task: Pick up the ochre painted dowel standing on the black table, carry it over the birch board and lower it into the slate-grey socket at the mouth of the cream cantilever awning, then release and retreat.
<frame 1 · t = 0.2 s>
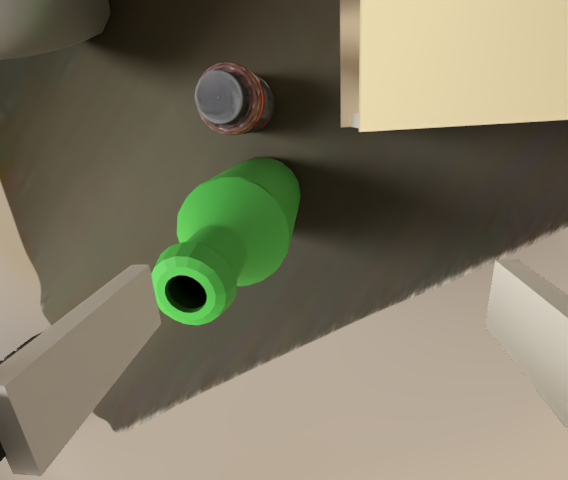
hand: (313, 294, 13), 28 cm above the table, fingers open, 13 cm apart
bottle: (264, 193, 40), on the table
board: (424, 1, 32), on the table
vase: (81, 4, 36), on the table
awning: (422, 69, 33), resting on board
supplement bottle: (248, 104, 37), on the table
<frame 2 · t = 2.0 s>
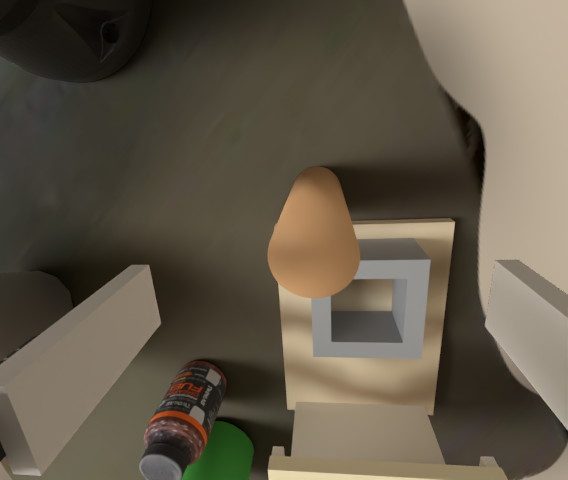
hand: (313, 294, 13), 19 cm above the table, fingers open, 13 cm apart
bottle: (222, 440, 43), on the table
socket: (360, 284, 32), resting on board
board: (358, 321, 35), on the table
vase: (46, 296, 38), on the table
awning: (359, 376, 36), resting on board
peg: (316, 190, 31), on the table
supplement bottle: (203, 377, 40), on the table
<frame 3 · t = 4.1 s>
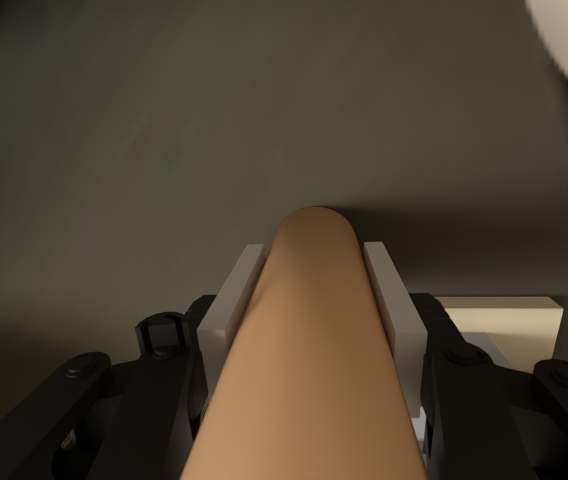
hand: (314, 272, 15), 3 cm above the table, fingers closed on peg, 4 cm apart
socket: (389, 399, 19), resting on board
board: (382, 445, 22), on the table
peg: (315, 246, 18), on the table, touching gripper
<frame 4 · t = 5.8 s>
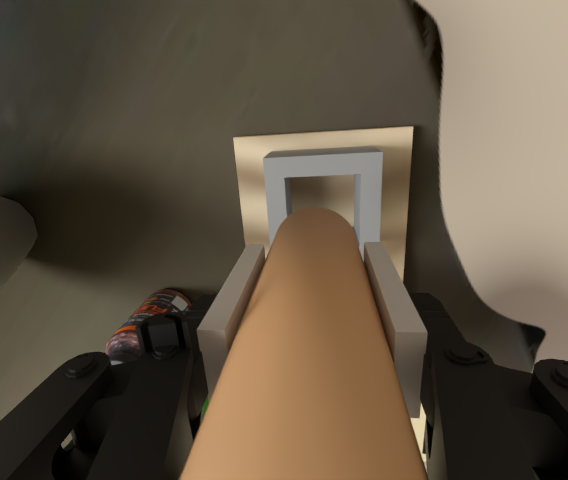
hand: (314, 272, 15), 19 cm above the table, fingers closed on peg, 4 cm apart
socket: (322, 198, 32), resting on board
board: (323, 242, 35), on the table
vase: (11, 224, 38), on the table
awning: (324, 298, 36), resting on board
peg: (315, 247, 18), point 16 cm above the table, touching gripper
supplement bottle: (172, 308, 40), on the table
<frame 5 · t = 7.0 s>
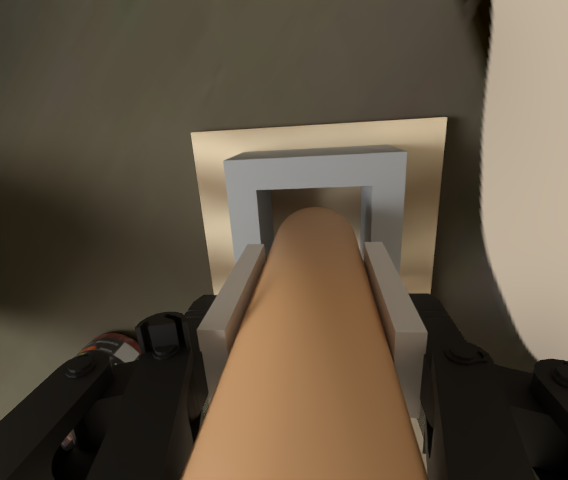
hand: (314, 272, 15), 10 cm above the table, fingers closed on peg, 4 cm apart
socket: (316, 217, 23), resting on board
board: (317, 275, 26), on the table
peg: (315, 246, 18), point 7 cm above the table, touching gripper
supplement bottle: (122, 355, 31), on the table
when the fingers open (8 cm above the table, at t = 7.7 s): peg drops 3 cm, resting on board.
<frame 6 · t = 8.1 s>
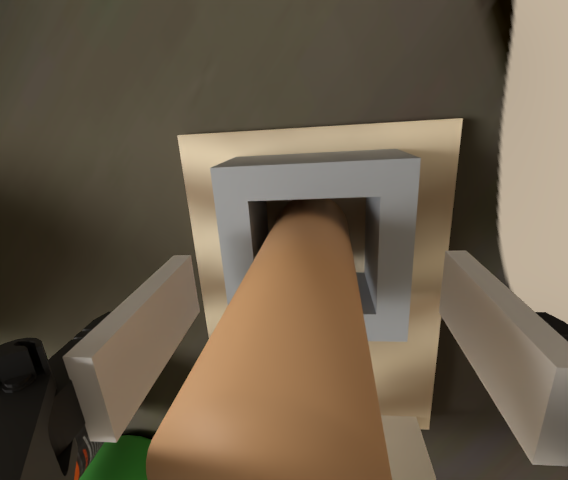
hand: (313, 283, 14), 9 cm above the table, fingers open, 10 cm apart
bottle: (142, 460, 32), on the table
socket: (316, 228, 21), resting on board
board: (318, 291, 24), on the table
awning: (320, 372, 25), resting on board
peg: (311, 229, 21), point 1 cm above the table, touching board
supplement bottle: (108, 374, 29), on the table
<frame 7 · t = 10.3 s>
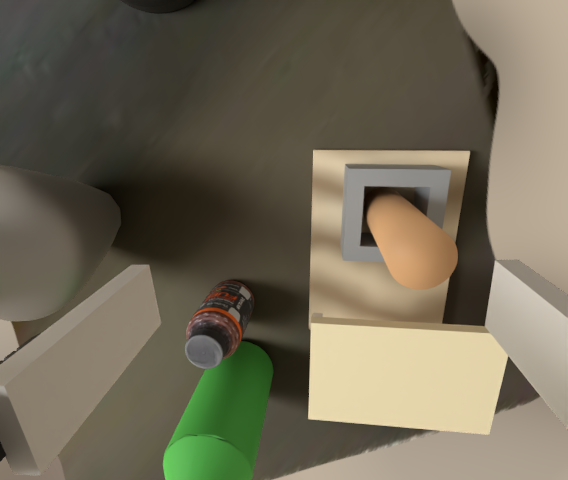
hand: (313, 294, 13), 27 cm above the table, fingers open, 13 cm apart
bottle: (243, 363, 47), on the table
socket: (384, 206, 37), resting on board
board: (379, 246, 40), on the table
vase: (97, 213, 43), on the table
awning: (376, 296, 40), resting on board
peg: (382, 207, 37), point 1 cm above the table, touching board
supplement bottle: (233, 298, 44), on the table
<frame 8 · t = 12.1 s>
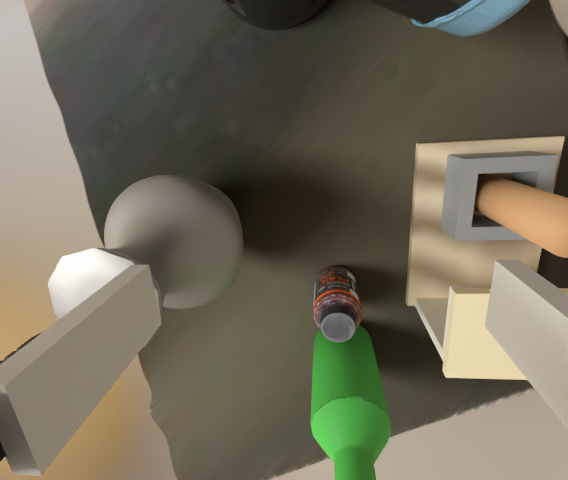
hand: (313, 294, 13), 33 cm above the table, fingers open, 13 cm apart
bottle: (342, 340, 52), on the table
socket: (483, 191, 41), resting on board
board: (473, 227, 44), on the table
vase: (212, 212, 47), on the table
awning: (471, 273, 45), resting on board
peg: (481, 191, 41), point 1 cm above the table, touching board
supplement bottle: (335, 282, 49), on the table
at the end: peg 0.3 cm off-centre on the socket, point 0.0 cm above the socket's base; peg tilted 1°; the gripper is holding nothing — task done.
